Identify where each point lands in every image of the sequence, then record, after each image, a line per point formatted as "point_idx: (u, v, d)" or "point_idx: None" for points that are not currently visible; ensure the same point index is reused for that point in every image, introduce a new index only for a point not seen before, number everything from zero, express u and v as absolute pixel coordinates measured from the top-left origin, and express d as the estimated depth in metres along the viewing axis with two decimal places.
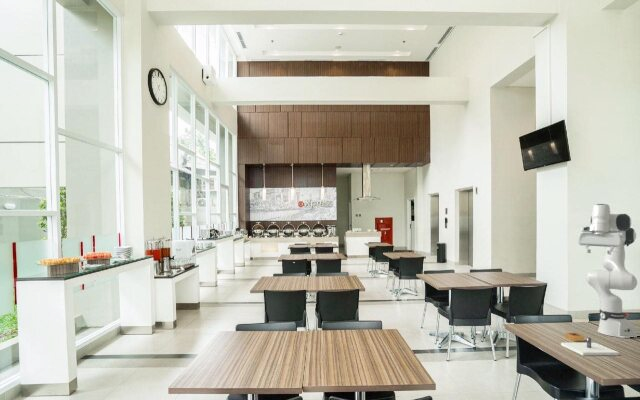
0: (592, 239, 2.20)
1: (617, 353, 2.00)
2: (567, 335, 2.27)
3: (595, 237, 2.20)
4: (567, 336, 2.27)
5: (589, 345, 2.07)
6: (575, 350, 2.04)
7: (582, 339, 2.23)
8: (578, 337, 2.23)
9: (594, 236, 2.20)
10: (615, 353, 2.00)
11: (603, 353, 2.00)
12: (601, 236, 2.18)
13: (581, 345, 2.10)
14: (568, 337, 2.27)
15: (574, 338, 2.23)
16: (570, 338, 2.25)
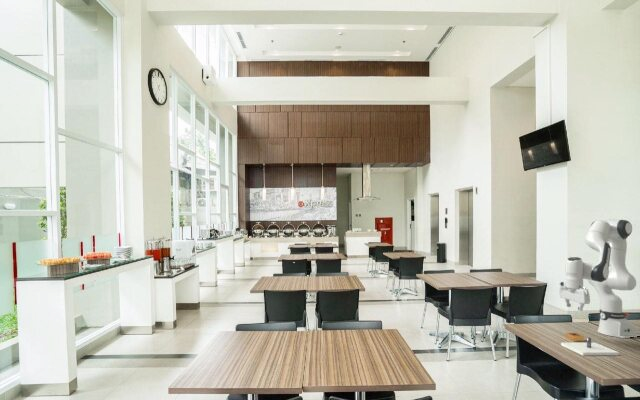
0: (567, 294, 2.30)
1: (617, 353, 2.00)
2: (567, 335, 2.27)
3: (569, 292, 2.29)
4: (567, 336, 2.27)
5: (589, 345, 2.07)
6: (575, 350, 2.04)
7: (582, 339, 2.23)
8: (578, 337, 2.23)
9: (569, 291, 2.29)
10: (615, 353, 2.00)
11: (603, 353, 2.00)
12: (573, 292, 2.26)
13: (581, 345, 2.10)
14: (568, 337, 2.27)
15: (574, 338, 2.23)
16: (570, 338, 2.25)
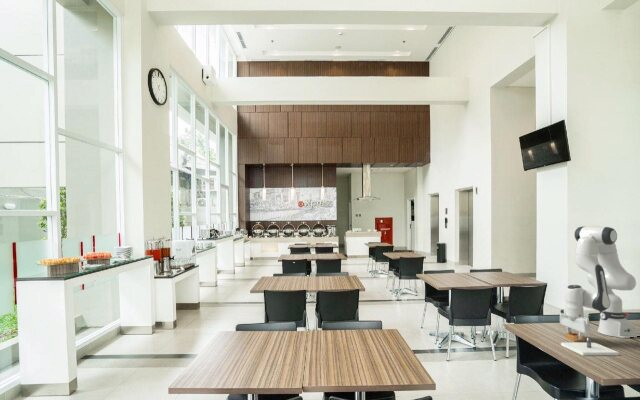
0: (568, 322, 2.29)
1: (617, 353, 2.00)
2: (567, 335, 2.27)
3: (569, 320, 2.28)
4: (567, 336, 2.27)
5: (589, 345, 2.07)
6: (575, 350, 2.04)
7: (582, 339, 2.23)
8: None
9: (569, 319, 2.29)
10: (615, 353, 2.00)
11: (603, 353, 2.00)
12: (573, 320, 2.25)
13: (581, 345, 2.10)
14: (568, 337, 2.27)
15: (574, 338, 2.23)
16: (570, 338, 2.25)
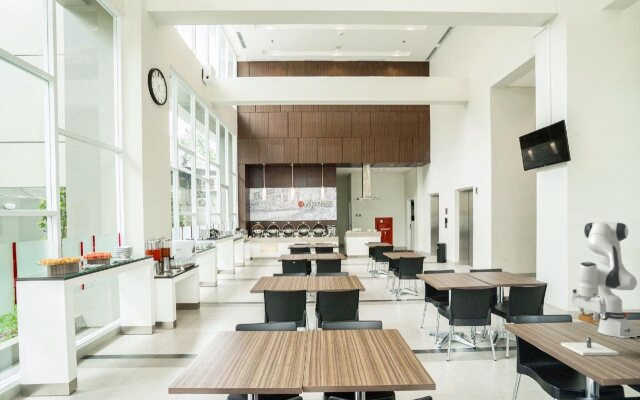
0: (581, 302, 2.12)
1: (617, 353, 2.00)
2: (580, 316, 2.10)
3: (583, 301, 2.10)
4: (580, 318, 2.10)
5: (589, 345, 2.07)
6: (575, 350, 2.04)
7: (597, 320, 2.05)
8: None
9: (582, 299, 2.11)
10: (615, 353, 2.00)
11: (603, 353, 2.00)
12: (587, 300, 2.08)
13: (581, 345, 2.10)
14: (581, 319, 2.09)
15: (588, 319, 2.05)
16: (584, 319, 2.07)
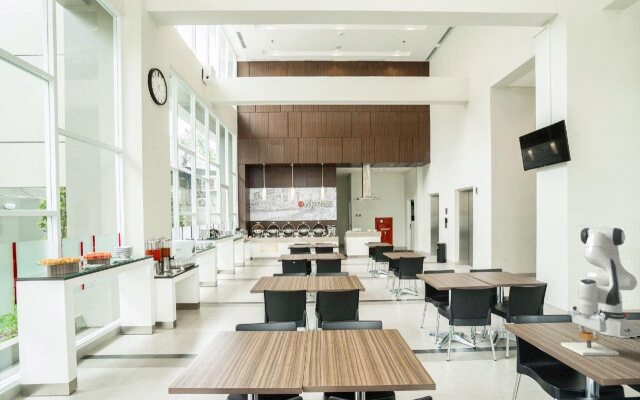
0: (581, 320, 2.11)
1: (617, 353, 2.00)
2: (580, 334, 2.09)
3: (583, 318, 2.10)
4: (580, 335, 2.09)
5: (589, 345, 2.07)
6: (575, 350, 2.04)
7: (597, 338, 2.05)
8: None
9: (582, 317, 2.10)
10: (615, 353, 2.00)
11: (603, 353, 2.00)
12: (587, 318, 2.07)
13: (581, 345, 2.10)
14: (581, 336, 2.08)
15: (588, 337, 2.04)
16: (584, 337, 2.07)
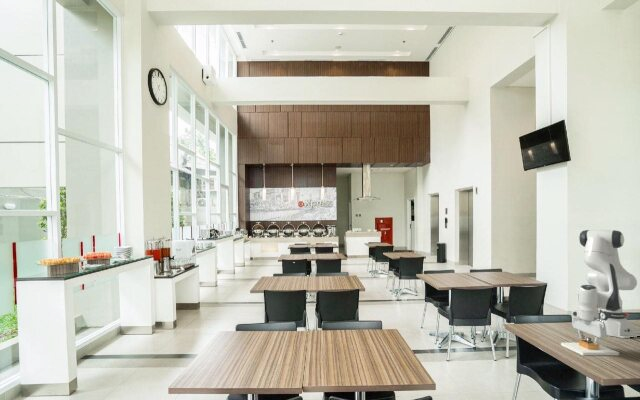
0: (581, 325, 2.11)
1: (617, 353, 2.00)
2: (580, 342, 2.09)
3: (583, 324, 2.10)
4: (580, 343, 2.09)
5: None
6: (575, 350, 2.04)
7: (597, 347, 2.05)
8: (593, 345, 2.05)
9: (583, 322, 2.10)
10: (615, 353, 2.00)
11: (603, 353, 2.00)
12: (587, 324, 2.07)
13: None
14: (582, 344, 2.08)
15: (588, 346, 2.04)
16: (584, 346, 2.07)
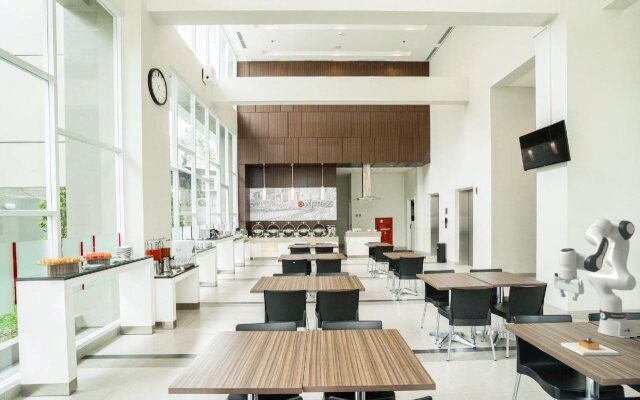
0: (562, 285, 2.34)
1: (617, 353, 2.00)
2: (580, 342, 2.09)
3: (564, 283, 2.33)
4: (580, 343, 2.09)
5: None
6: (575, 350, 2.04)
7: (597, 347, 2.05)
8: (593, 345, 2.05)
9: (563, 282, 2.33)
10: (615, 353, 2.00)
11: (603, 353, 2.00)
12: (567, 283, 2.30)
13: None
14: (582, 344, 2.08)
15: (588, 346, 2.04)
16: (584, 346, 2.07)
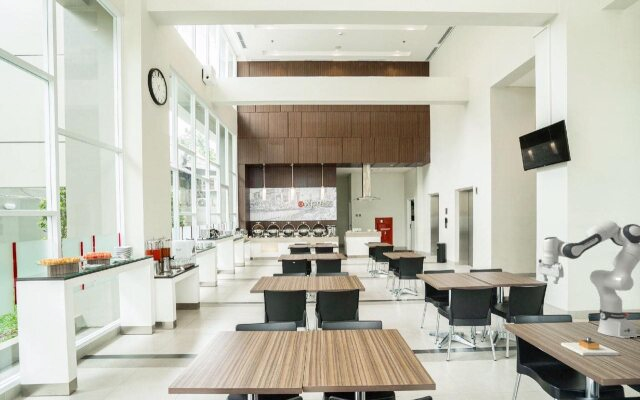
0: (545, 270, 2.57)
1: (617, 353, 2.00)
2: (580, 342, 2.09)
3: (546, 268, 2.56)
4: (580, 343, 2.09)
5: None
6: (575, 350, 2.04)
7: (597, 347, 2.05)
8: (593, 345, 2.05)
9: (546, 267, 2.56)
10: (615, 353, 2.00)
11: (603, 353, 2.00)
12: (549, 268, 2.53)
13: None
14: (582, 344, 2.08)
15: (588, 346, 2.04)
16: (584, 346, 2.07)
